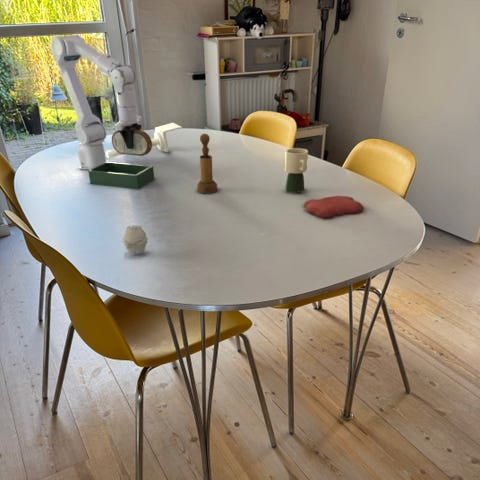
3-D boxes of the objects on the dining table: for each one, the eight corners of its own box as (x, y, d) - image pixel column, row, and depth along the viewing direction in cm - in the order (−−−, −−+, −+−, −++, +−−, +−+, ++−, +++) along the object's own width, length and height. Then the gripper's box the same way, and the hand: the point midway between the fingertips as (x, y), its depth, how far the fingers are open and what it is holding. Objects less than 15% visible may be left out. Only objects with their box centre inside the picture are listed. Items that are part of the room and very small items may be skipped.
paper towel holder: (181, 126, 199) (107, 146, 189) (185, 148, 204) (113, 168, 194) (173, 122, 206) (101, 141, 196) (177, 143, 211) (107, 162, 201)
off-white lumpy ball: (150, 246, 124) (147, 221, 120) (147, 258, 118) (143, 232, 115) (127, 247, 124) (123, 221, 120) (122, 259, 118) (118, 233, 114)
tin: (153, 155, 171) (151, 130, 167) (149, 157, 168) (146, 131, 164) (116, 152, 175) (113, 127, 171) (111, 154, 173) (108, 129, 169)
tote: (90, 183, 169) (87, 170, 166) (108, 174, 178) (106, 161, 175) (138, 189, 163) (136, 175, 160) (154, 179, 172) (153, 166, 170)
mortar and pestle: (214, 194, 158) (211, 136, 148) (195, 193, 159) (191, 136, 149) (219, 187, 163) (217, 132, 153) (200, 186, 164) (197, 131, 154)
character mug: (312, 194, 156) (315, 153, 149) (292, 197, 154) (294, 156, 147) (297, 185, 164) (299, 145, 157) (278, 187, 162) (279, 147, 155)
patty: (319, 220, 137) (319, 214, 136) (296, 205, 148) (297, 198, 147) (371, 211, 143) (371, 205, 141) (345, 197, 153) (346, 191, 152)
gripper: (126, 110, 156) (131, 153, 164) (147, 103, 168) (152, 143, 175) (107, 109, 158) (113, 152, 166) (129, 102, 170) (135, 142, 177)
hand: (132, 147), depth 171 cm, fingers closed on tin, 2 cm apart
